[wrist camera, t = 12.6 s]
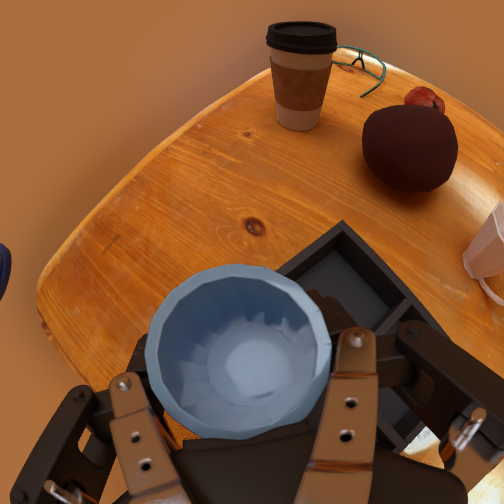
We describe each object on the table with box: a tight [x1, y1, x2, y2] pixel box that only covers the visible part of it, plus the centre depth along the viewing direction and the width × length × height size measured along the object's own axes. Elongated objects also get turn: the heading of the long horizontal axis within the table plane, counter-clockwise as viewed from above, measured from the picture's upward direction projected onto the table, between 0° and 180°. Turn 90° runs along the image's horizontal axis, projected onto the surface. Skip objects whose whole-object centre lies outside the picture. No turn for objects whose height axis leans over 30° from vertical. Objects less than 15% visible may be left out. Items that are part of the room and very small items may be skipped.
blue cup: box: [145, 264, 332, 440], centre depth 11 cm, size 6×6×8 cm
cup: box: [462, 201, 504, 306], centre depth 19 cm, size 7×10×8 cm
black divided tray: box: [275, 220, 451, 455], centre depth 19 cm, size 18×18×4 cm
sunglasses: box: [331, 45, 386, 97], centre depth 40 cm, size 14×15×5 cm
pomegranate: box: [405, 86, 445, 114], centre depth 32 cm, size 7×7×10 cm
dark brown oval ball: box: [362, 105, 458, 192], centre depth 25 cm, size 11×13×10 cm
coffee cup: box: [266, 21, 337, 131], centre depth 29 cm, size 8×8×15 cm
